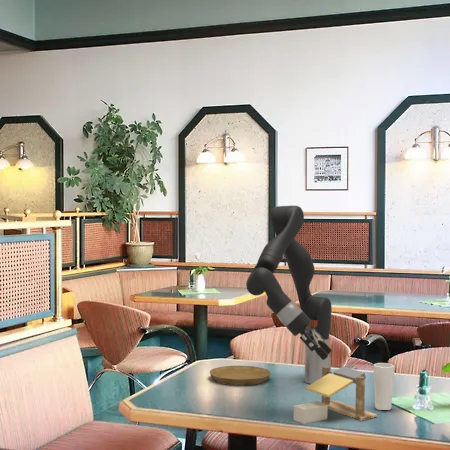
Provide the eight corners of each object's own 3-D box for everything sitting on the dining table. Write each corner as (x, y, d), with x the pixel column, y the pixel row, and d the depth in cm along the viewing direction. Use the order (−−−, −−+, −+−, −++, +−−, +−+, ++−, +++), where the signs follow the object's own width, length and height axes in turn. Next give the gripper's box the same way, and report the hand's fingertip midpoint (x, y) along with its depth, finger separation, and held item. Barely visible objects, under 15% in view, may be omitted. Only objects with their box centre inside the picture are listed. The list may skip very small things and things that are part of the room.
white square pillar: (317, 401, 236) (293, 405, 230) (327, 404, 231) (304, 409, 226) (316, 416, 236) (293, 421, 230) (327, 420, 232) (303, 425, 226)
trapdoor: (342, 371, 246) (341, 365, 245) (366, 378, 236) (365, 372, 236) (306, 393, 237) (305, 387, 237) (330, 401, 228) (328, 395, 227)
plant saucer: (211, 372, 295) (211, 364, 295) (269, 373, 294) (270, 365, 294) (207, 387, 271) (207, 378, 271) (271, 388, 270) (271, 379, 270)
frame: (335, 403, 250) (335, 364, 250) (377, 417, 233) (377, 376, 233) (319, 405, 246) (320, 366, 246) (361, 421, 230) (362, 378, 229)
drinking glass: (389, 413, 239) (390, 368, 238) (370, 409, 242) (370, 365, 242) (396, 408, 244) (397, 364, 244) (377, 405, 248) (377, 362, 248)
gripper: (297, 313, 228) (333, 352, 225) (305, 307, 242) (339, 343, 239) (281, 329, 230) (316, 367, 227) (289, 322, 243) (323, 358, 240)
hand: (327, 355), depth 233 cm, fingers open, 8 cm apart
